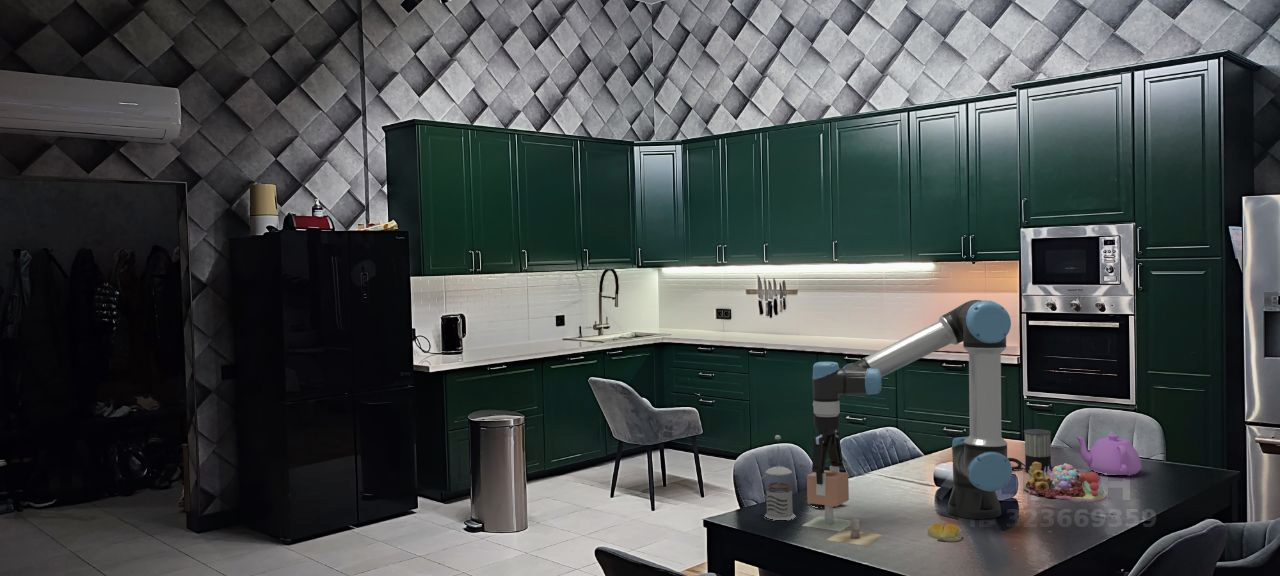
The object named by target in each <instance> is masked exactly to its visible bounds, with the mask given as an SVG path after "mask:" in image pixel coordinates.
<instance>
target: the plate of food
mask: <svg viewBox="0 0 1280 576" xmlns="http://www.w3.org/2000/svg"><path fill="white" fill-rule="evenodd" d="M1041 465H1042V464H1041V463H1039V462H1034V463H1032V465H1031V466H1030V470H1028V472H1027V473H1028V476H1029V477H1030V478H1029V479H1028V480H1027V482H1026V485H1025V486H1024V487H1023V489H1024V490H1025V491H1026V492H1028V493H1029V494H1032V495H1035V497H1036V496H1040V495H1042V496H1044V498H1047V499H1048V498H1049V499H1050V498H1051V499H1060V500H1072V501H1077V502H1078V501H1079V502H1096V501H1097V502H1098V501H1102V500H1104V499H1106V498H1107V497H1108V493H1107V492H1106V491H1105V490H1104V488H1103V486H1102V485H1101V484H1100V476H1099V475H1100V474H1098V473H1095V472H1093V471H1088V472H1087V473H1086V472H1082V473H1080V471H1079V470H1078V469H1077V468H1074V467H1073V465H1072V464H1069V463H1063V464H1059V465H1056V466H1053V467H1052V468H1051V470H1052V473H1051V470H1049V466H1048V470H1047V473H1046V472H1045V471H1046V466H1045V469H1044V473H1043V471H1042V470H1041Z"/></svg>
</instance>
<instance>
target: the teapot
mask: <svg viewBox="0 0 1280 576" xmlns="http://www.w3.org/2000/svg"><path fill="white" fill-rule="evenodd" d="M1073 437H1074V438H1076V439H1077V440H1078V443H1079V446H1080V455H1081V456H1080V457H1081V458H1082V459H1083V461H1084V462H1085V463H1086V465H1087V466H1088V467H1089V469H1090V470H1091V469H1093V470H1095V471H1098V472H1102V473H1107V474H1116V475H1129V474H1135V475H1137V474H1138V473H1139V472H1140V471H1141V470H1142V460H1141V458H1140V455H1139V452H1137V450H1136V449H1135V447H1134V445H1133V444H1132V443H1131V441H1129V440H1127V439H1122V438H1119V434H1114V433H1112V434H1111V433H1110V434H1107V437H1103V438H1098V439H1097V440H1096V441H1095V443H1093V446H1092V447H1091V448H1090V451H1088V448H1087V442H1086V441H1085V439H1084V438H1083V437H1080V436H1076V435H1073ZM1136 473H1137V474H1136Z"/></svg>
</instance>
